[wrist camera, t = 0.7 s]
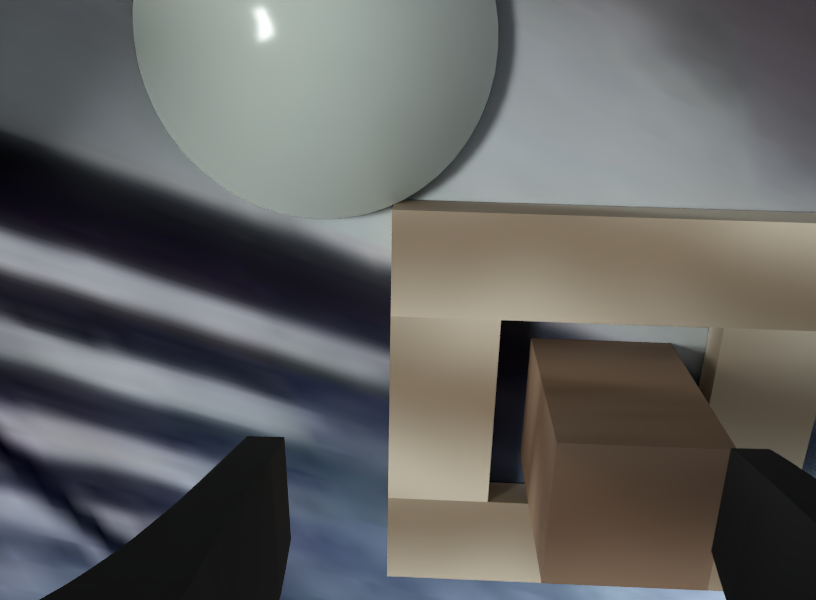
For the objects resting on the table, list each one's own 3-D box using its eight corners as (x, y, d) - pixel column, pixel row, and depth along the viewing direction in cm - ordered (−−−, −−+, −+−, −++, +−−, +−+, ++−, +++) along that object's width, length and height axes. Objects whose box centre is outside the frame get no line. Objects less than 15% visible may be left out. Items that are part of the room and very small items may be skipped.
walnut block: (650, 460, 24) (706, 590, 19) (520, 454, 24) (541, 583, 19) (670, 342, 22) (737, 450, 17) (530, 337, 23) (557, 442, 17)
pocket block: (758, 570, 25) (769, 592, 24) (389, 554, 26) (386, 576, 25) (845, 213, 21) (864, 225, 20) (394, 199, 21) (392, 209, 20)
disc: (486, 220, 21) (486, 224, 21) (157, 209, 21) (152, 213, 21) (510, -162, 18) (511, -165, 17) (117, -170, 18) (110, -172, 18)
